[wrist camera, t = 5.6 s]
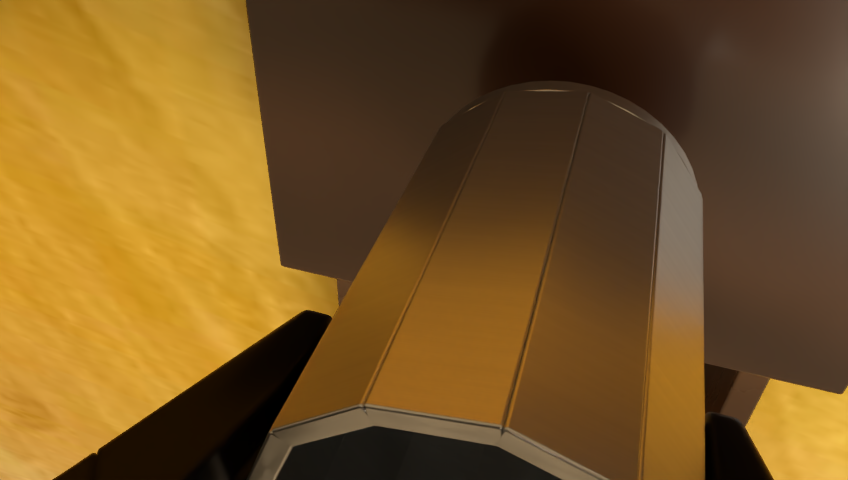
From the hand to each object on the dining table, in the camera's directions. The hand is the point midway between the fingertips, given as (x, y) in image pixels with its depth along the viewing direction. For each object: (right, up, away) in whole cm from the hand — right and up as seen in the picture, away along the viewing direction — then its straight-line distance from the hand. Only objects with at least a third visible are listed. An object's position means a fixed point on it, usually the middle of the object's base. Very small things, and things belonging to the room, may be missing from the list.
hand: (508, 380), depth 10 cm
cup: (+1, +3, +3) cm, 4 cm away
